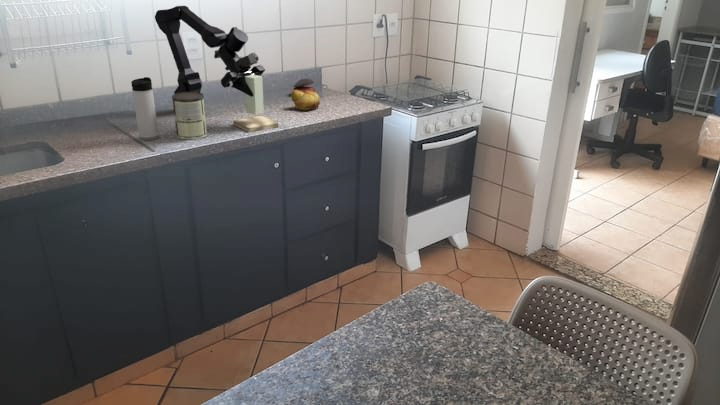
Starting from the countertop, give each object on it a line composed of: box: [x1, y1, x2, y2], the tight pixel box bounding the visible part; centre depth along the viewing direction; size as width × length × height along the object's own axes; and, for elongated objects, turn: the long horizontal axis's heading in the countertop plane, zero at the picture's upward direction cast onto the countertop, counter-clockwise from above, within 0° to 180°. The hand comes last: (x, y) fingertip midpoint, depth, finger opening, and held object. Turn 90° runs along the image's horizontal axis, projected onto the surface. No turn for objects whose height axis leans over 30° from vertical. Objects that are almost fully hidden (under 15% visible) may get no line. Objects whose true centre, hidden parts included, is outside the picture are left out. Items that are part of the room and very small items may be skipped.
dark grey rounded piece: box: [292, 78, 316, 93], centre depth 248 cm, size 11×10×10 cm
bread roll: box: [290, 90, 321, 111], centre depth 226 cm, size 13×10×8 cm
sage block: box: [244, 75, 265, 115], centre depth 197 cm, size 4×4×13 cm
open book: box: [233, 115, 279, 133], centre depth 202 cm, size 12×12×2 cm
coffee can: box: [171, 92, 208, 140], centre depth 186 cm, size 10×10×14 cm
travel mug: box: [131, 76, 160, 142], centre depth 181 cm, size 6×7×20 cm
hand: (257, 94), depth 197 cm, fingers closed on sage block, 4 cm apart
